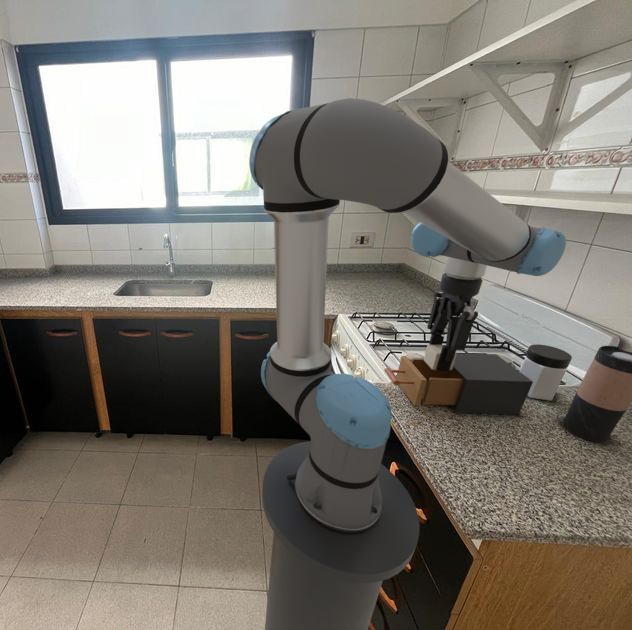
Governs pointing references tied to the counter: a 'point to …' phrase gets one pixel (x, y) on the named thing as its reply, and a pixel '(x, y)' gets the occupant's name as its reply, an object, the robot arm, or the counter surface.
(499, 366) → the cabinet
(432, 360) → the block
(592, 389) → the travel mug
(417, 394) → the drawer
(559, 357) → the jar
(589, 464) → the counter surface
